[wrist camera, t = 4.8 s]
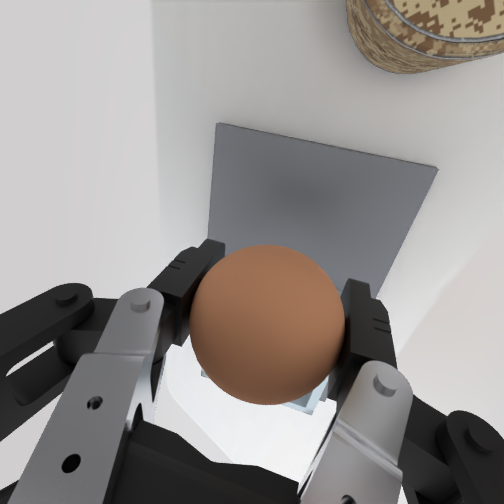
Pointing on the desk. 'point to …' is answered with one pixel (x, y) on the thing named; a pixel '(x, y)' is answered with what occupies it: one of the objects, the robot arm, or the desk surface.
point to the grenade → (426, 32)
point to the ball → (267, 324)
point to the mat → (314, 202)
